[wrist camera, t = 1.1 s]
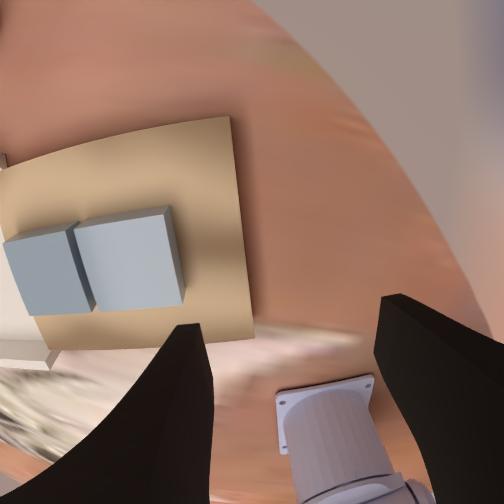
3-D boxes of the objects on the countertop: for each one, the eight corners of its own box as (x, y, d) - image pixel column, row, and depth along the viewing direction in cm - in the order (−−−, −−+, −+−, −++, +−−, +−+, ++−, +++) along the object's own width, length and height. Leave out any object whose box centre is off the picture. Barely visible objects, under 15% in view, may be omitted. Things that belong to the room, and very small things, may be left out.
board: (252, 318, 20) (255, 338, 18) (59, 333, 19) (49, 349, 17) (228, 117, 15) (229, 115, 13) (7, 168, 15) (-12, 175, 13)
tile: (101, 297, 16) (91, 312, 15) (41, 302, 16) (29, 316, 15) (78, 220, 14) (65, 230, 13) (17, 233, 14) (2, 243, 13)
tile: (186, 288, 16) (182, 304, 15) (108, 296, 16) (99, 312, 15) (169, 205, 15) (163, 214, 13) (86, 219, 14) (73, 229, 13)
